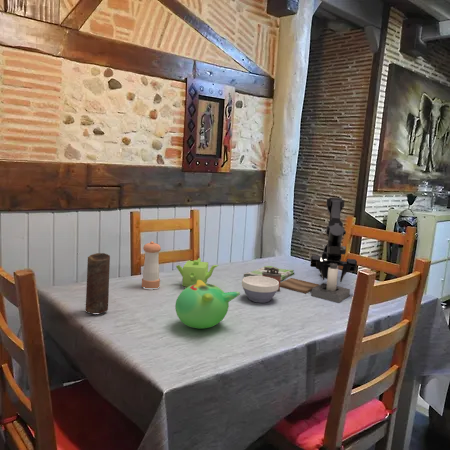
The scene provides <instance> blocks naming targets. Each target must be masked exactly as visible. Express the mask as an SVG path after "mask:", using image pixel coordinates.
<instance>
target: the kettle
mask: <svg viewBox="0 0 450 450" xmlns="http://www.w3.org/2000/svg"><path fill="white" fill-rule="evenodd" d="M175 267H176V269H177V270H178V272H179V274H180V275H181V277H182V281H181V282H182V283H181V284H182V287H184V288H185V287H186V288H187V287H189V286H191V285H194V284H196V283H197V280H202V281H203V282H204V283H207V282H208V279H210V278H211V276H212V274H213V272H214V269H215V268H217V267H219V265H217V264H214V265H211V266H210V269H209V262H207V261H202V258H201V257H198V258H197V259H195V260H187V261H186V262H185V264H184V265H183V266H181V265H180V264H177V265H176V266H175ZM207 284H208V283H207ZM186 288H185V289H186Z"/></svg>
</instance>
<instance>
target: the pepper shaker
mask: <svg viewBox="0 0 450 450" xmlns="http://www.w3.org/2000/svg"><path fill="white" fill-rule="evenodd" d="M142 249H143V251H144V262H143V269H142V277H141V288H142V287H145V288H158V287H159V286H160V284H161V283H160V281H161V280H160V266H159V265H160V264H159V256H160V255H159V252H160V251H161V250H162V247H161V245H160V244H158V243H155V241H153V240H152V241H150V242H148V243H145V244H144V245H143V247H142ZM159 288H160V287H159Z"/></svg>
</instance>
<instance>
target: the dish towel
mask: <svg viewBox="0 0 450 450" xmlns="http://www.w3.org/2000/svg"><path fill="white" fill-rule="evenodd" d="M264 267H270V268H272V267H274V268H277V267H275V266H272V265H264V266H263V267H260V268H258V269H255V270H252V271H250V272H244V273H243V278H245V277H248V276H262V272H267V270H264ZM278 269H279V272H278V273H281V279H280V282H283V281H285V280H287V279H289V278H291V277H292V276H294V275H295V272H294V271H295V270H294V269H285V268H278ZM269 272H270V271H269ZM275 272H276V271H275Z"/></svg>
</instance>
